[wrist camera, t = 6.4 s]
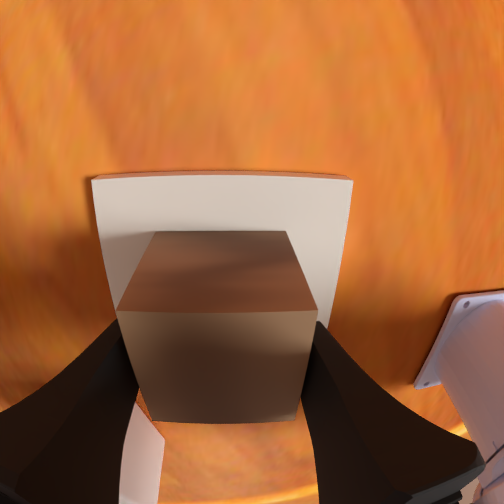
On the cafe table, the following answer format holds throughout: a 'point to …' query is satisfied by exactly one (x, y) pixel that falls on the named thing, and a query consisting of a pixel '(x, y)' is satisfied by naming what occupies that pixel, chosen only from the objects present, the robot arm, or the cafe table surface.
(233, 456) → the cafe table surface
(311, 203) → the cream square tile
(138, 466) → the medicine bottle
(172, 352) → the walnut block
